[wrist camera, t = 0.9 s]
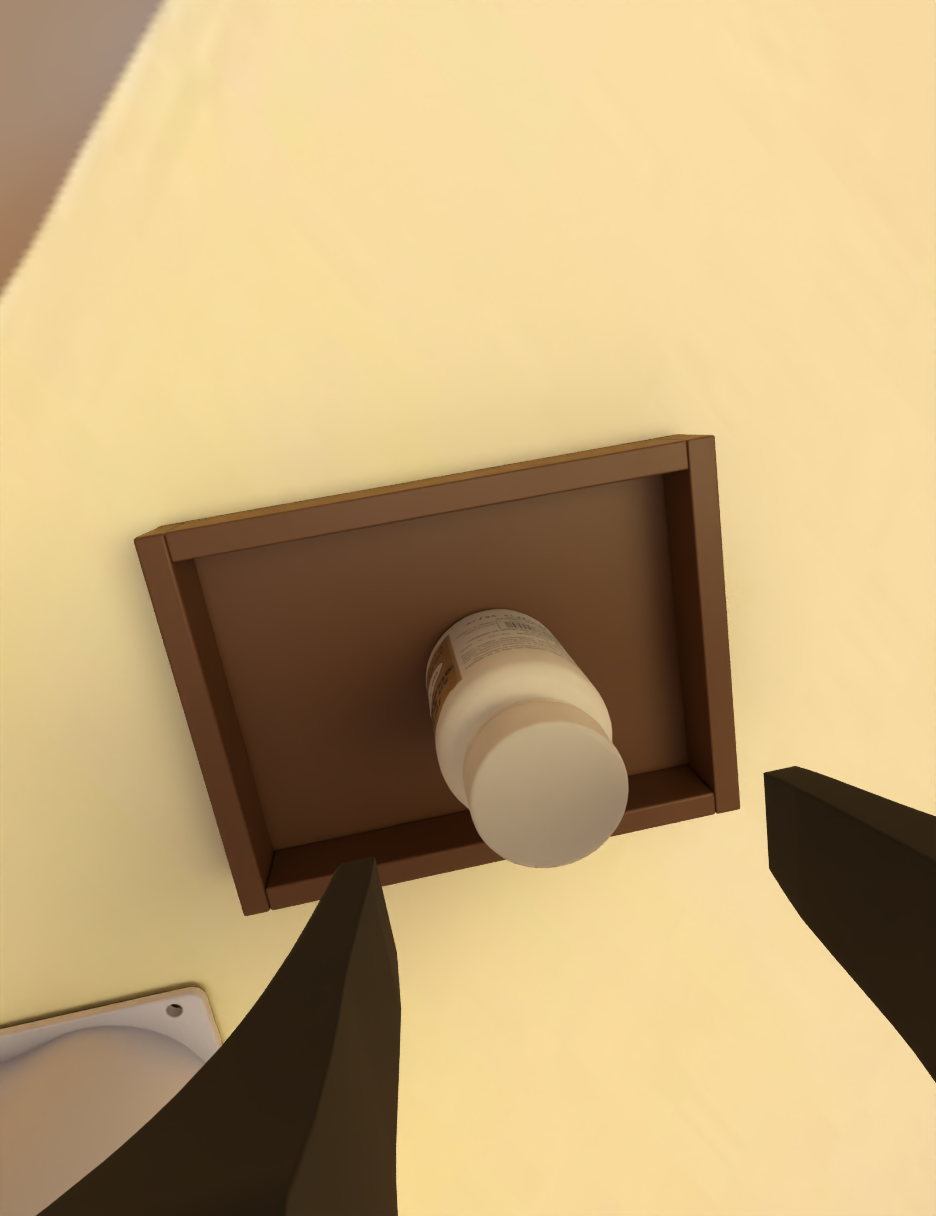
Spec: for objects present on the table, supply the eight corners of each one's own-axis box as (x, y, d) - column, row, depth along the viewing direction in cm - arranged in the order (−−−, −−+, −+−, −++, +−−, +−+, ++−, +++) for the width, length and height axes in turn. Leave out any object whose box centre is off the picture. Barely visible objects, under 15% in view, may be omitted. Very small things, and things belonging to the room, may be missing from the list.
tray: (257, 869, 23) (243, 918, 21) (160, 526, 20) (131, 539, 18) (707, 773, 24) (741, 809, 22) (679, 434, 21) (715, 434, 19)
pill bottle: (403, 638, 21) (413, 749, 14) (536, 585, 22) (617, 668, 14) (454, 758, 23) (489, 920, 15) (580, 707, 23) (676, 844, 15)
